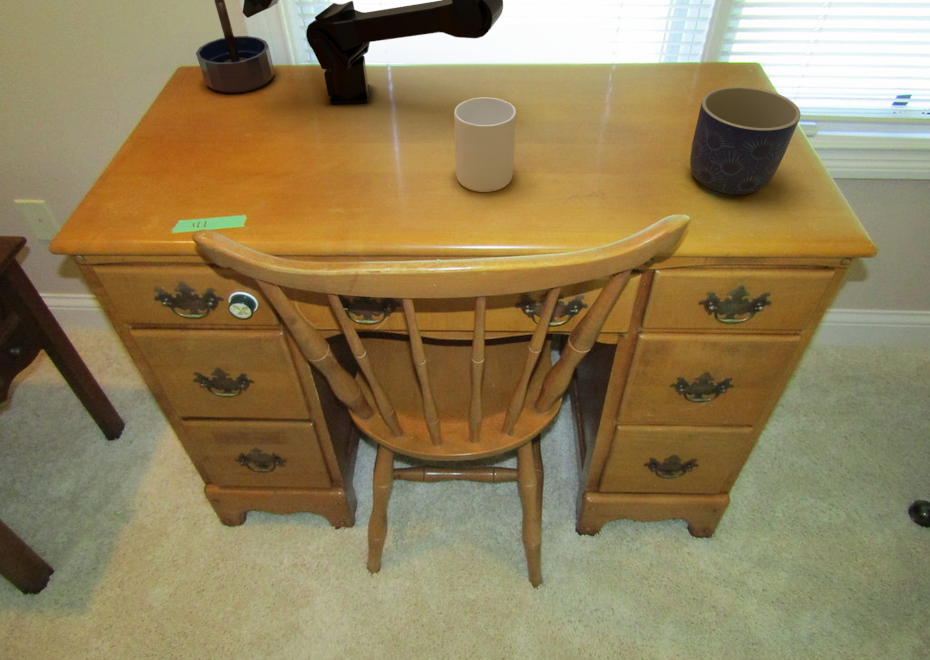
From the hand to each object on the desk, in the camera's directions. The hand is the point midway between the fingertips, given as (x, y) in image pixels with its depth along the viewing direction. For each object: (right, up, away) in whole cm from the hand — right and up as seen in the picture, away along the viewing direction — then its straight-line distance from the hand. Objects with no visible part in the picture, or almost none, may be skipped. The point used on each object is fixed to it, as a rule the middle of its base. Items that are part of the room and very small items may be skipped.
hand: (260, 5), depth 105 cm
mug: (+37, -31, -11) cm, 49 cm away
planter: (+72, -32, -14) cm, 80 cm away
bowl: (-7, -8, +12) cm, 16 cm away
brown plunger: (-7, -7, +11) cm, 15 cm away
